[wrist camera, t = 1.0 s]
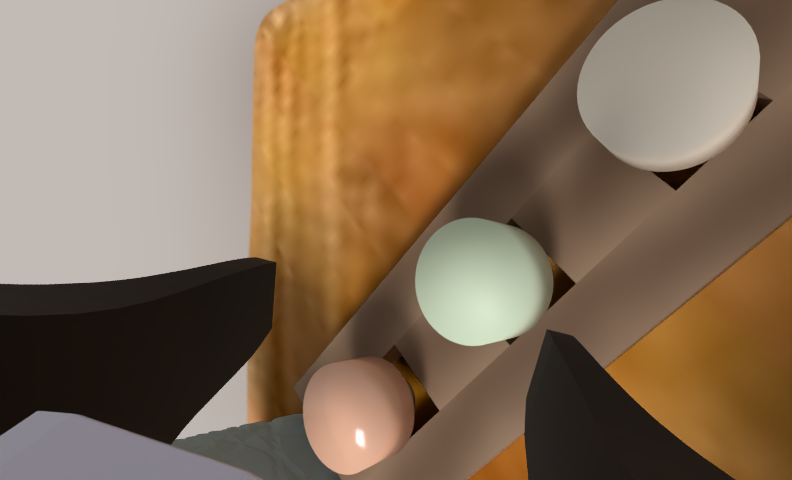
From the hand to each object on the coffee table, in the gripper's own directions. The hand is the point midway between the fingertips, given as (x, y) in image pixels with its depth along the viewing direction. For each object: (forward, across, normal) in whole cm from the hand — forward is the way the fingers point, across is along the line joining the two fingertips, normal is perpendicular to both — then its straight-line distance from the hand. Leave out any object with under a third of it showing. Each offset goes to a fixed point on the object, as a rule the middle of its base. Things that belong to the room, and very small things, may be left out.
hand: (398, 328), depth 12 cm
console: (+11, -4, +2) cm, 12 cm away
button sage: (+10, -3, +2) cm, 10 cm away
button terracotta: (+10, +1, +10) cm, 14 cm away
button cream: (+10, -8, -6) cm, 14 cm away
